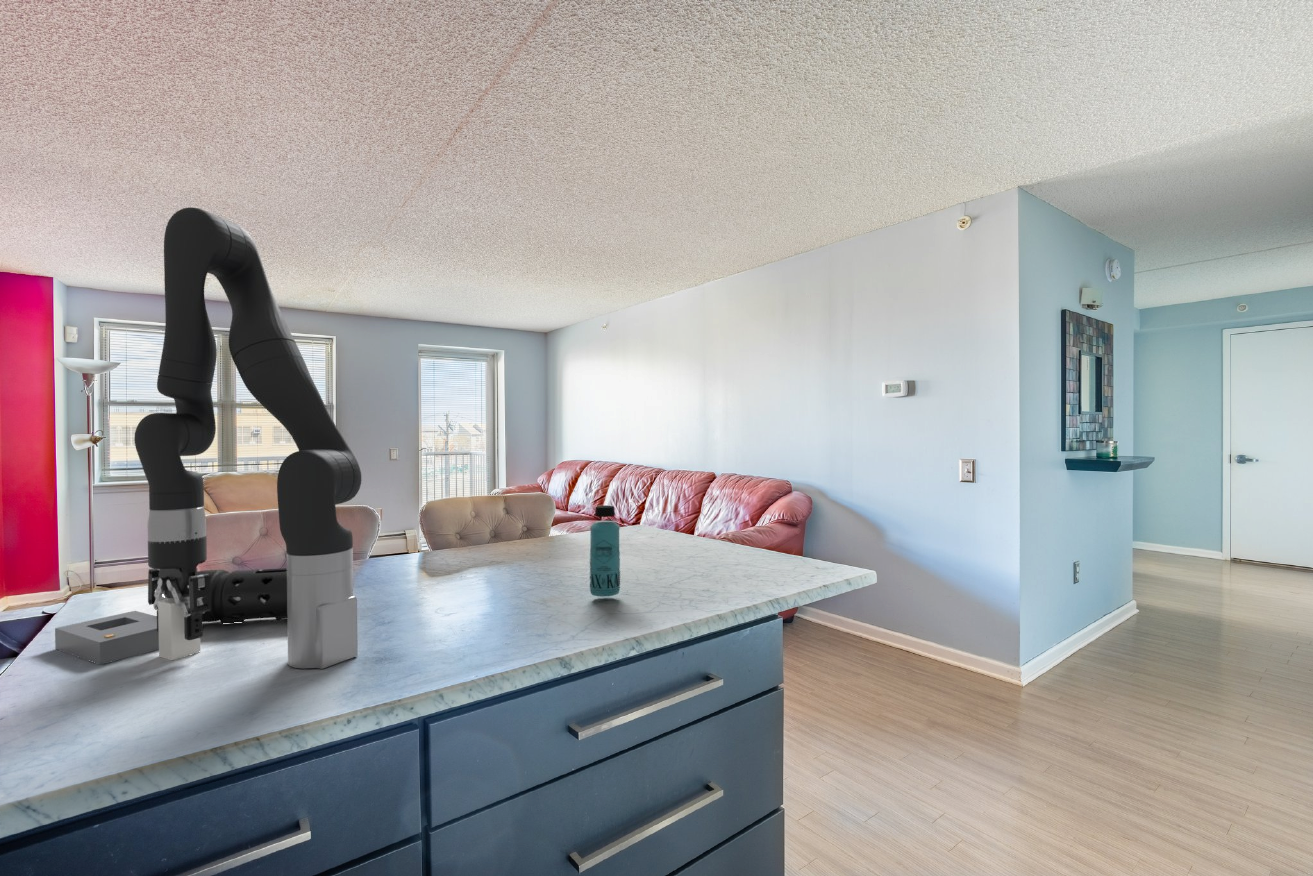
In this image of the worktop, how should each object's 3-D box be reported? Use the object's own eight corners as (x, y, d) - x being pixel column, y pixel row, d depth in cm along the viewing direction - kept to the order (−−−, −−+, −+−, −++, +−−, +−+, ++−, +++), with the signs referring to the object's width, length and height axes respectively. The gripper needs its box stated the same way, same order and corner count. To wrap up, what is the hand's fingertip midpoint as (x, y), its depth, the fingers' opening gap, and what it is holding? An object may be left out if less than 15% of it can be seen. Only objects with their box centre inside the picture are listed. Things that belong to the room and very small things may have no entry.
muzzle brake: (340, 623, 114) (339, 569, 114) (170, 635, 109) (169, 577, 108) (354, 609, 124) (353, 558, 124) (199, 619, 118) (198, 566, 118)
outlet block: (181, 642, 104) (181, 621, 104) (100, 664, 94) (99, 641, 94) (135, 629, 111) (135, 609, 111) (55, 648, 102) (54, 627, 102)
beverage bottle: (587, 597, 131) (586, 504, 130) (616, 594, 133) (616, 503, 132) (593, 605, 124) (592, 508, 124) (624, 602, 126) (623, 506, 126)
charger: (200, 652, 100) (199, 596, 99) (172, 660, 96) (170, 602, 96) (187, 648, 101) (186, 593, 101) (159, 656, 98) (157, 599, 98)
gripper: (227, 535, 99) (229, 634, 99) (181, 529, 105) (182, 622, 105) (173, 542, 92) (175, 649, 92) (127, 536, 98) (129, 635, 99)
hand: (179, 634), depth 99 cm, fingers open, 8 cm apart
